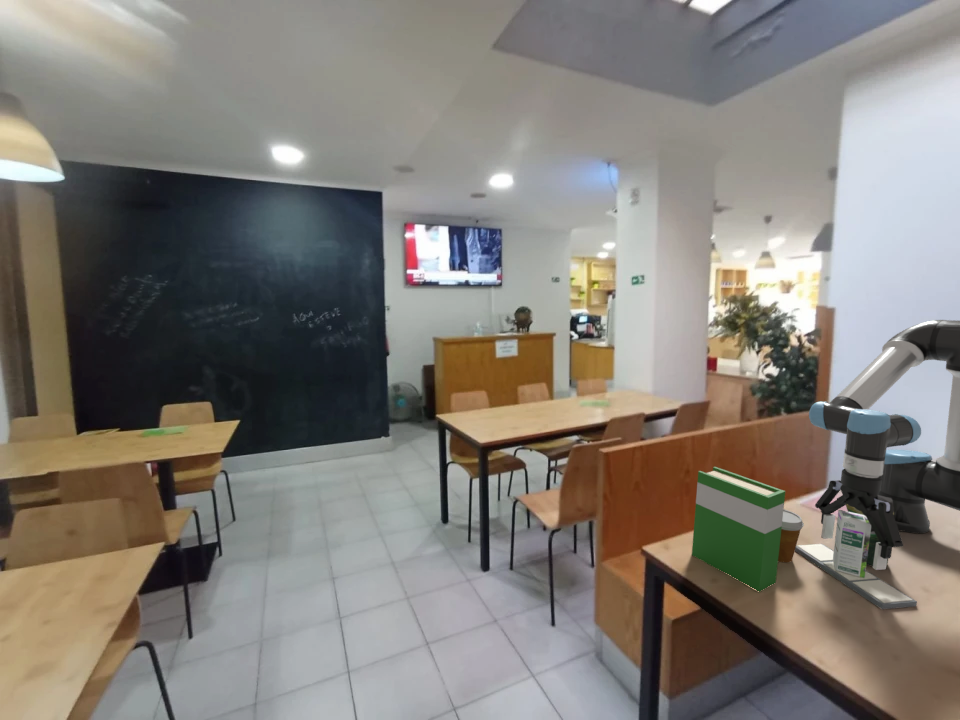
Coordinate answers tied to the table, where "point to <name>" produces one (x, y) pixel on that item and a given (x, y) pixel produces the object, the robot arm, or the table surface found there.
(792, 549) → the disposable coffee cup
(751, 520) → the hardback book
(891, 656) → the table surface
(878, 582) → the board
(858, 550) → the syrup box
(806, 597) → the table surface
